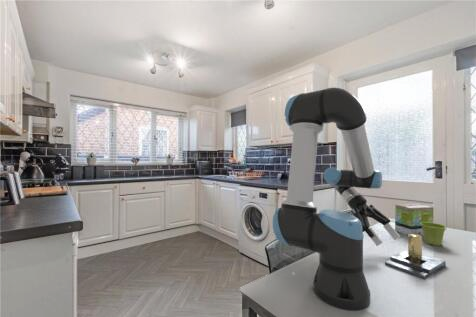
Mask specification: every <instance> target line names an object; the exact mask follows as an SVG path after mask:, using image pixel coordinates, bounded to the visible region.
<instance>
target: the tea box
mask: <svg viewBox="0 0 476 317" xmlns="http://www.w3.org/2000/svg"><path fill="white" fill-rule="evenodd" d="M394 210H395V211H394V212H395V213H394V214H395V216H394V218H395V219H394V230H395V231H396V232H397V233H398V232H399V233H401V234H404V235H407V236H408V234H416V235H420V236H424V234H423V228H422V226H421V224H420V223H422V222H429V223H434V214H435V213H434V211H435V210H434V207H433V206H429V205H425V204H424V205H423V204H419V203H408V204H407V203H404V204H403V203H402V204H395V209H394Z"/></svg>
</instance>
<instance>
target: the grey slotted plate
mask: <svg viewBox="0 0 476 317" xmlns="http://www.w3.org/2000/svg"><path fill="white" fill-rule="evenodd" d="M407 259H408V249H407V250H403V251H401V252H399V253H396V254H395V255H392V256H390V260H394V261H396V262H399V263H402V264H405V265H408V266H411V267H414V268H417V269H419V270H422V271H425V272H428V273H430V272H432V271H434V270H435V269H437V268H439V267H441V269H440V270H442V269H443V268H445V267H446V265H447V264H446V263H447V262H446V261H447V260H445V259H441V258H438V257H435V256H431V255H428V254H424V253H422V262H423V264H421V265H420V264H417V263H414V262H411V261H408V260H407Z"/></svg>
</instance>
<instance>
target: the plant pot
mask: <svg viewBox="0 0 476 317" xmlns="http://www.w3.org/2000/svg"><path fill="white" fill-rule="evenodd" d="M420 224H421V226H422V228H423V234H424V235H423V239H424V242H425V243H426V244H428V245H433V246H441V245H442V244H443V240H444V234H445V232H446V229H447V226H446V225H443V224H441V223H438V222H437V223H436V222H433V223H429V222H422V223H420Z"/></svg>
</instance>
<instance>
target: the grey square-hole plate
mask: <svg viewBox="0 0 476 317" xmlns="http://www.w3.org/2000/svg"><path fill="white" fill-rule="evenodd" d="M407 260H408V259H407ZM384 264H385V265H386V266H388V267H391V268H394V269H397V270H399V271H402V272H404V273H407V274H409V275H412V276H415V277H417V278H420V279H423V280H425V279H427V278H429V277H430V276H432V275H434V274H435V273H437V272H439V271H440V270H442V269H441V267H439V268H437V269H435V270H434V271H432V272H430V273H428V272H425V271H422V270H419V269H417V268H414V267H411V266H408V265H405V264H402V263H399V262H396V261H394V260H391V259H388V260H386V261H385V262H384ZM422 264H423V262H422Z"/></svg>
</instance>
